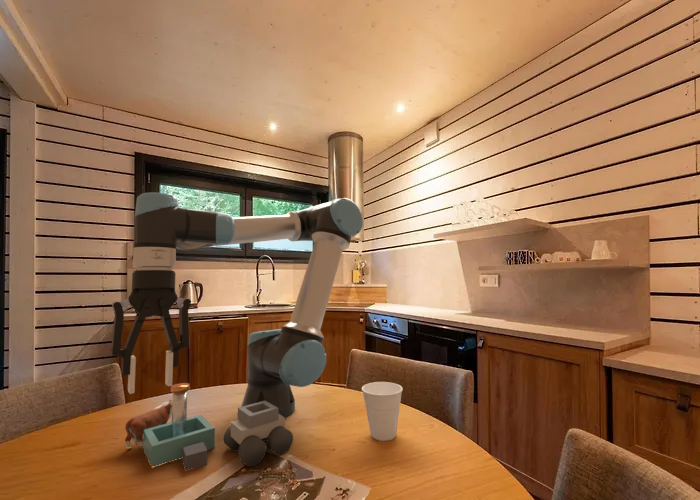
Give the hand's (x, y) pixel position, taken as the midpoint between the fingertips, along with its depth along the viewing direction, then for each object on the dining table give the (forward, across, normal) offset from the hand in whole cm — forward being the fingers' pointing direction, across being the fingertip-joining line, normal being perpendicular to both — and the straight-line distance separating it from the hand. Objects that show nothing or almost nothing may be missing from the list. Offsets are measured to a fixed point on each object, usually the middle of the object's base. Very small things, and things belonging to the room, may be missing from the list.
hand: (150, 387), depth 65 cm
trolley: (+17, +20, -4) cm, 27 cm away
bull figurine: (+17, +4, +18) cm, 25 cm away
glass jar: (+16, +8, +9) cm, 20 cm away
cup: (+17, +46, -18) cm, 52 cm away
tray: (+17, +8, +9) cm, 20 cm away
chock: (+17, +8, 0) cm, 19 cm away
